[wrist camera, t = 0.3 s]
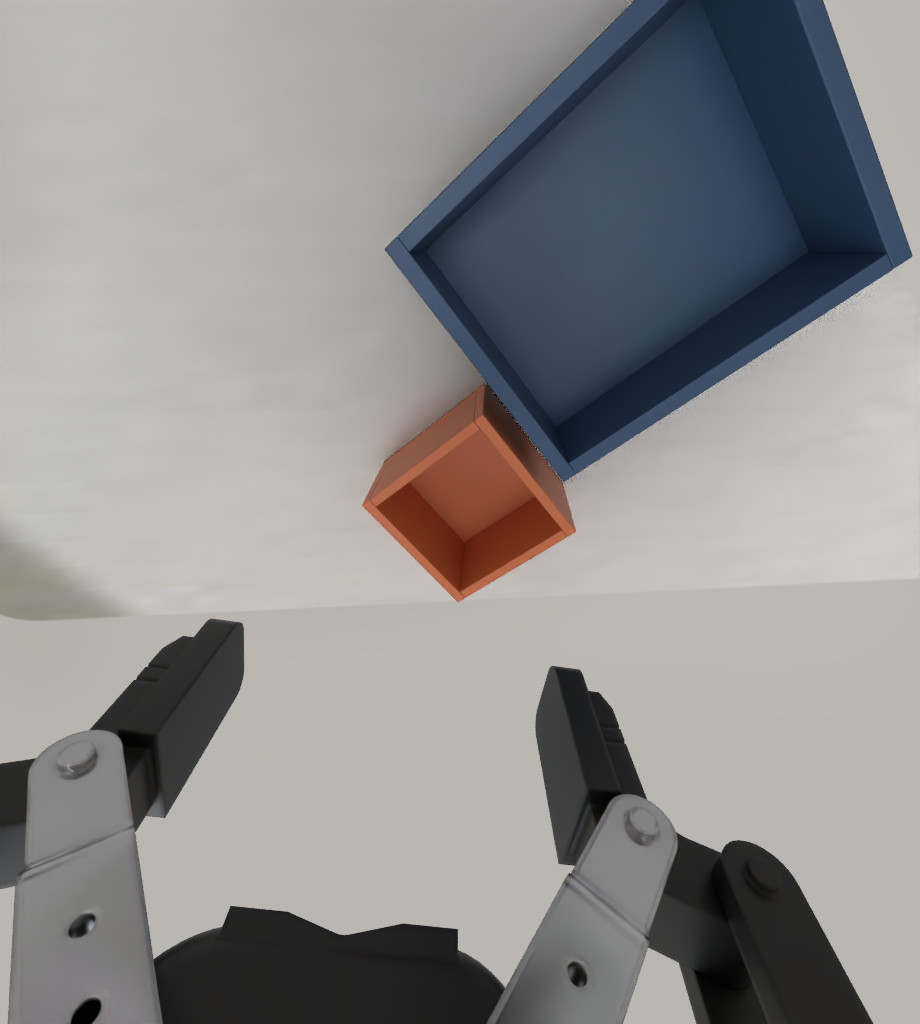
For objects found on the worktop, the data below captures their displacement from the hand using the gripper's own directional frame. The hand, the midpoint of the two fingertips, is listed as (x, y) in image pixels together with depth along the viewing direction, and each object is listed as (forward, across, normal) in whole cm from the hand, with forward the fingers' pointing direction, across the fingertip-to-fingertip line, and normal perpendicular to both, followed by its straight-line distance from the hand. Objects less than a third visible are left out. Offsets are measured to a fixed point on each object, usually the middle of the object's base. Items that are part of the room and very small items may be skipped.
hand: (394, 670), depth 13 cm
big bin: (+20, -8, -13) cm, 26 cm away
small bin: (+22, -3, +1) cm, 23 cm away
